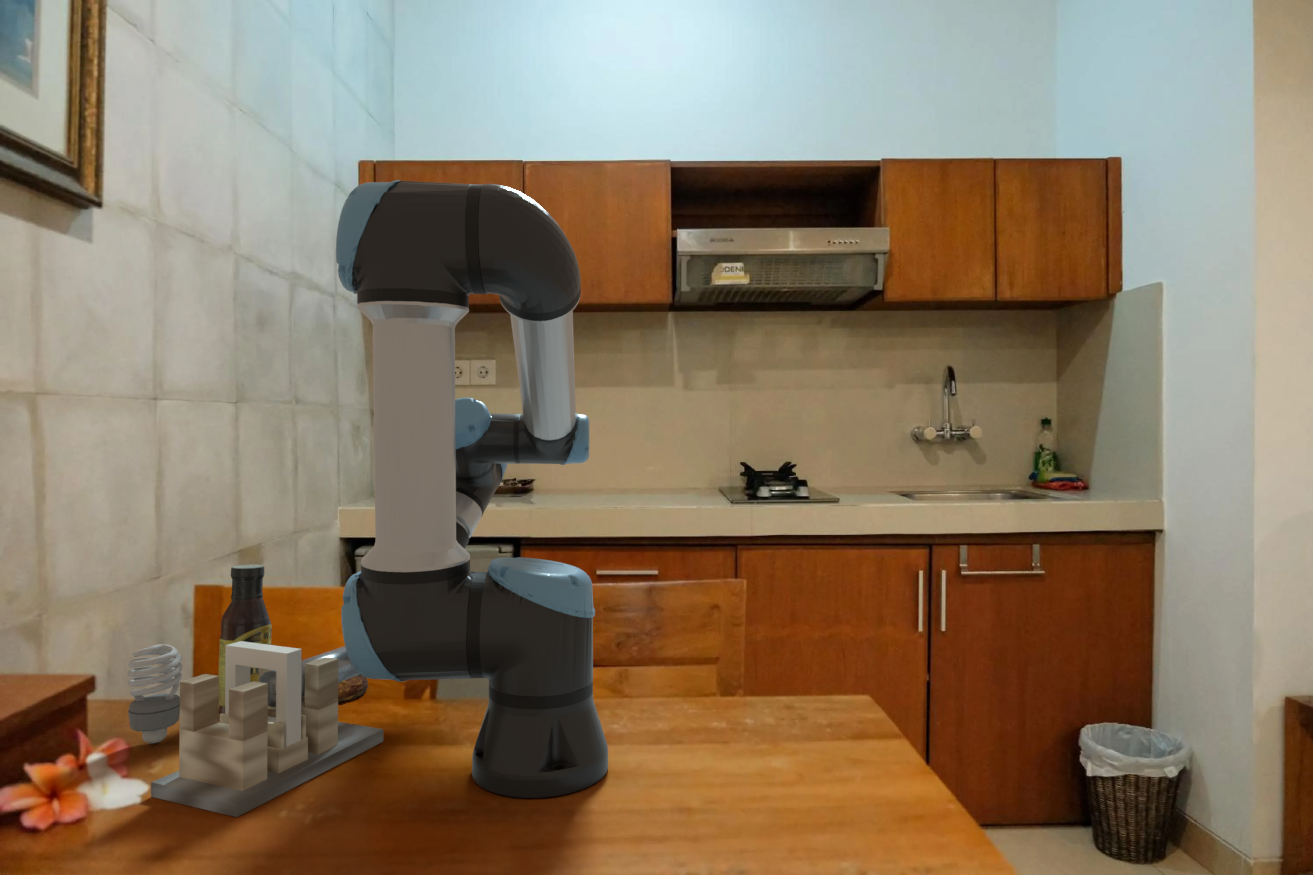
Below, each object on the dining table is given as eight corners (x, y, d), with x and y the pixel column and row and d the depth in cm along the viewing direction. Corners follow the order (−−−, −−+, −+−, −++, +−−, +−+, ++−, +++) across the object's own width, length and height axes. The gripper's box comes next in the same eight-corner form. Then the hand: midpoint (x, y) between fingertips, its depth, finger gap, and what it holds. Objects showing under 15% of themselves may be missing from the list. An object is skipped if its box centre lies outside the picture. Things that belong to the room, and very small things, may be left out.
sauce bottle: (247, 723, 103) (248, 571, 103) (206, 720, 104) (207, 569, 104) (281, 707, 109) (282, 563, 109) (241, 704, 111) (242, 561, 111)
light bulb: (186, 733, 99) (187, 637, 99) (175, 750, 94) (176, 649, 94) (134, 738, 98) (135, 641, 98) (120, 755, 92) (120, 652, 92)
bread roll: (384, 685, 119) (380, 653, 119) (338, 720, 109) (334, 685, 108) (320, 682, 122) (316, 651, 121) (269, 716, 111) (265, 682, 111)
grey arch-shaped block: (300, 739, 87) (301, 648, 87) (286, 746, 85) (287, 653, 85) (240, 728, 90) (240, 640, 90) (224, 734, 88) (225, 645, 88)
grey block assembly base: (383, 741, 97) (383, 647, 97) (236, 817, 78) (237, 699, 78) (307, 728, 101) (308, 638, 101) (150, 796, 82) (151, 685, 82)
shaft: (349, 671, 103) (349, 637, 103) (376, 675, 101) (376, 640, 101) (256, 706, 90) (257, 667, 90) (286, 711, 88) (286, 671, 88)
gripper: (494, 545, 119) (422, 688, 104) (422, 541, 124) (344, 677, 108) (473, 513, 114) (395, 658, 99) (400, 510, 119) (314, 648, 103)
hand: (368, 668), depth 103 cm, fingers closed
